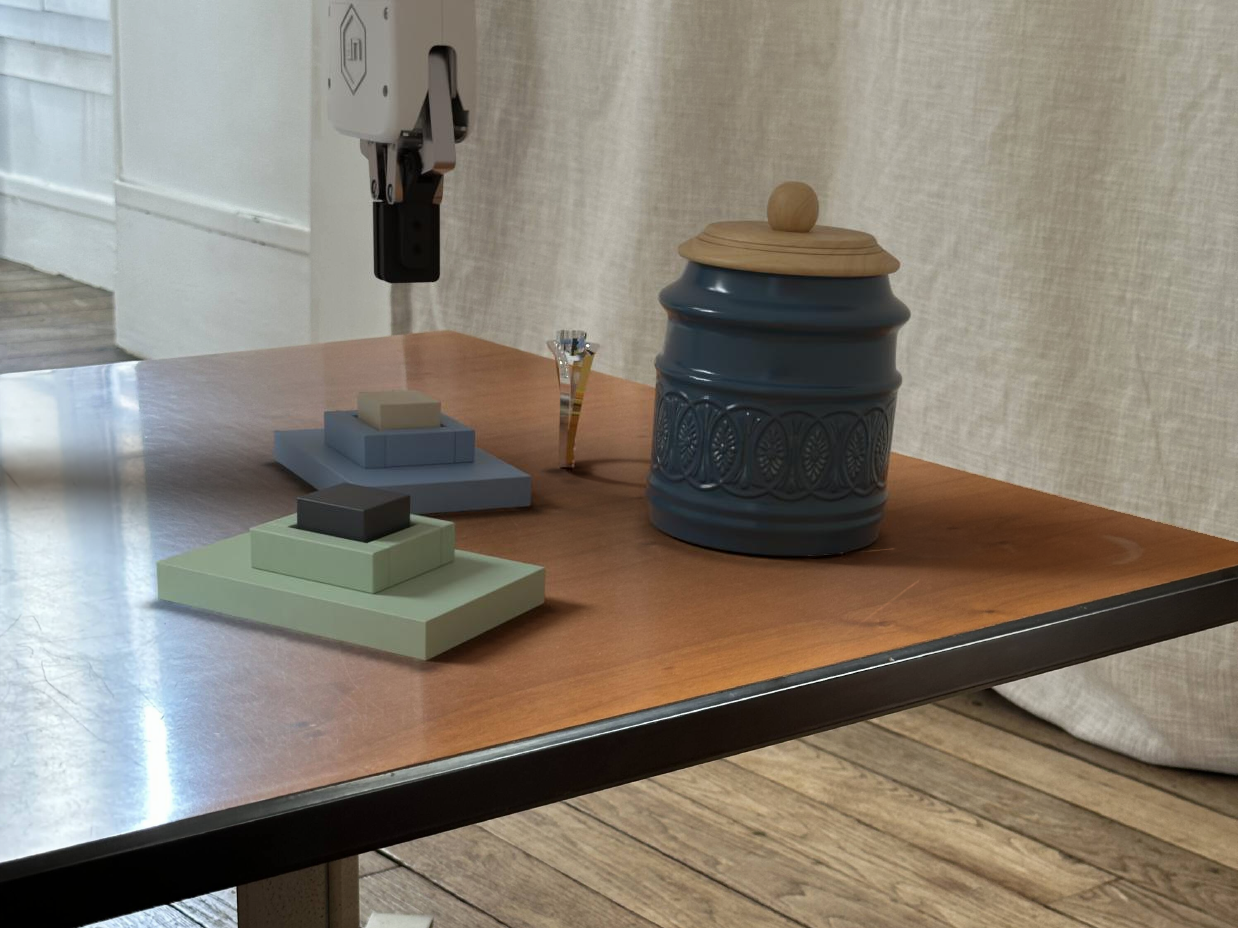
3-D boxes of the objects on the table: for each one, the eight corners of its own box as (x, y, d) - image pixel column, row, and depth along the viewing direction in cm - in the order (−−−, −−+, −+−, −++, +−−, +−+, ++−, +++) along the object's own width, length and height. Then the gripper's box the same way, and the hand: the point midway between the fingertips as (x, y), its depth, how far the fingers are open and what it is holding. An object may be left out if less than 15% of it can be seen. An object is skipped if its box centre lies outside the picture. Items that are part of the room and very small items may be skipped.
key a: (296, 536, 77) (295, 496, 76) (344, 519, 80) (344, 481, 79) (364, 550, 75) (364, 510, 75) (410, 532, 78) (411, 494, 78)
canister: (899, 568, 89) (946, 200, 82) (644, 553, 89) (668, 183, 81) (867, 505, 101) (906, 179, 94) (642, 491, 101) (663, 164, 93)
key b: (356, 423, 99) (356, 391, 98) (416, 420, 100) (416, 389, 100) (380, 436, 96) (380, 404, 95) (441, 433, 98) (441, 401, 97)
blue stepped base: (274, 459, 103) (272, 399, 101) (432, 450, 107) (433, 392, 106) (358, 519, 92) (357, 452, 90) (531, 506, 96) (533, 442, 95)
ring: (545, 453, 108) (551, 320, 105) (597, 456, 108) (604, 323, 105) (534, 479, 102) (540, 338, 99) (589, 482, 102) (597, 342, 99)
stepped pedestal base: (157, 598, 78) (153, 521, 76) (294, 550, 86) (293, 479, 84) (425, 661, 72) (426, 578, 71) (544, 603, 80) (547, 528, 79)
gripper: (283, -103, 92) (296, 264, 99) (386, -115, 80) (391, 302, 87) (417, -93, 95) (419, 261, 102) (536, -103, 83) (528, 298, 91)
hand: (407, 279), depth 95 cm, fingers closed
